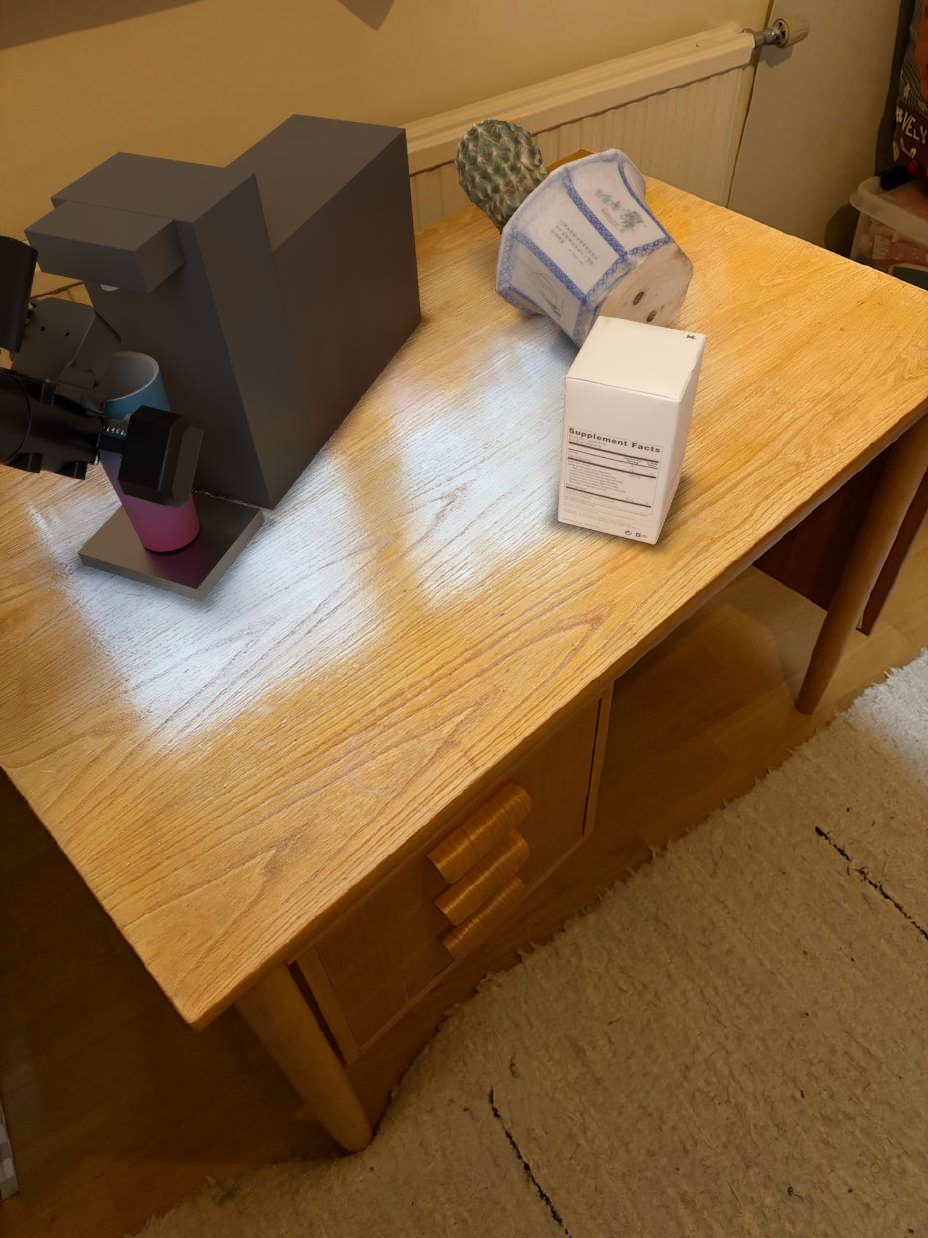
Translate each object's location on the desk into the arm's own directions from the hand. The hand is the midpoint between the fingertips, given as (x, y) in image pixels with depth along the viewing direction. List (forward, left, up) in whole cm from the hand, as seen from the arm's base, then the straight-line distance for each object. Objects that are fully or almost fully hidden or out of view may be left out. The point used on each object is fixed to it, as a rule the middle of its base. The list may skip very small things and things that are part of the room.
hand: (151, 450), depth 70 cm
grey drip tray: (-1, -1, -9) cm, 9 cm away
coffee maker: (+12, +15, -9) cm, 21 cm away
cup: (-1, -1, -8) cm, 8 cm away
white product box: (+37, -8, -9) cm, 39 cm away
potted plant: (+43, +24, -9) cm, 50 cm away
